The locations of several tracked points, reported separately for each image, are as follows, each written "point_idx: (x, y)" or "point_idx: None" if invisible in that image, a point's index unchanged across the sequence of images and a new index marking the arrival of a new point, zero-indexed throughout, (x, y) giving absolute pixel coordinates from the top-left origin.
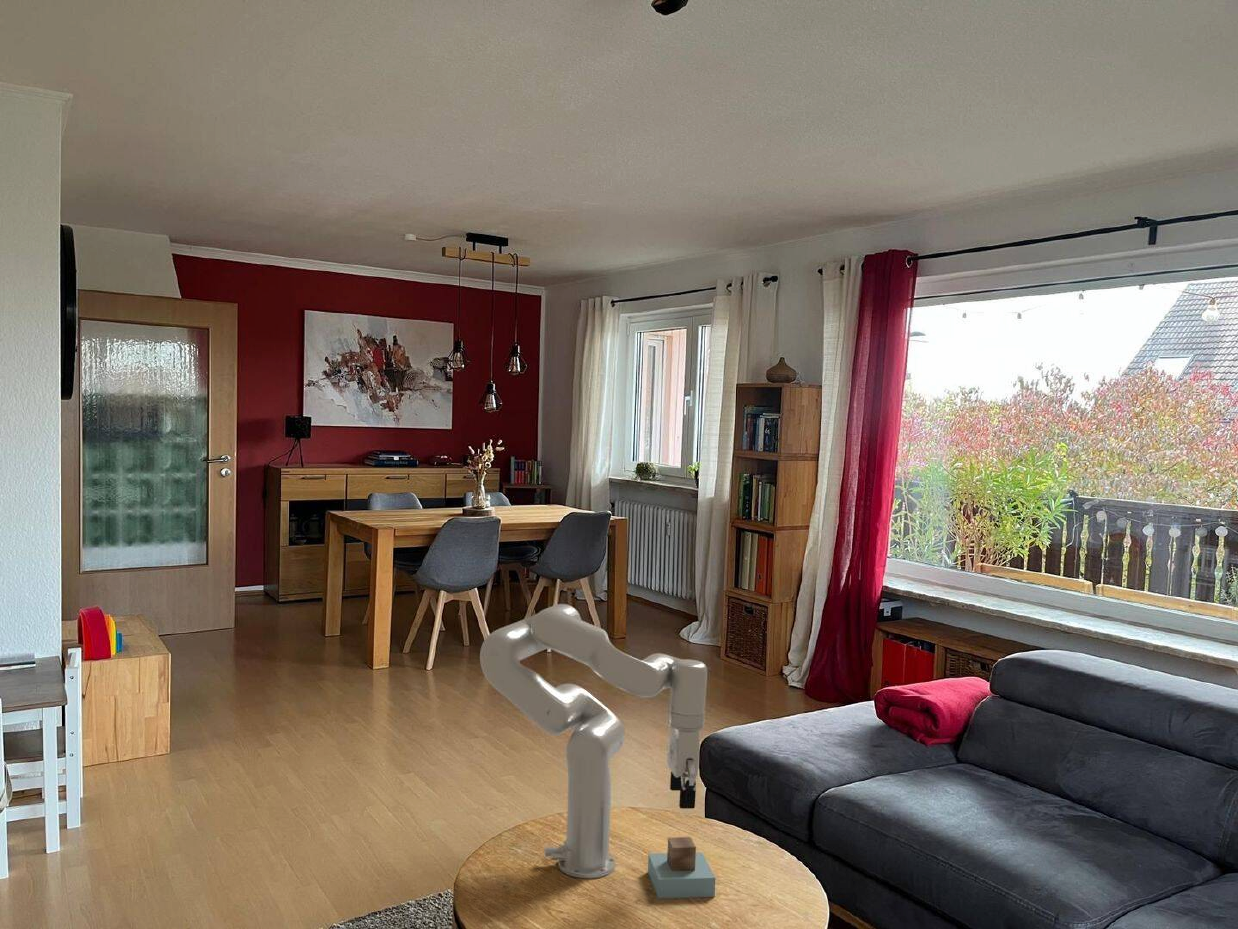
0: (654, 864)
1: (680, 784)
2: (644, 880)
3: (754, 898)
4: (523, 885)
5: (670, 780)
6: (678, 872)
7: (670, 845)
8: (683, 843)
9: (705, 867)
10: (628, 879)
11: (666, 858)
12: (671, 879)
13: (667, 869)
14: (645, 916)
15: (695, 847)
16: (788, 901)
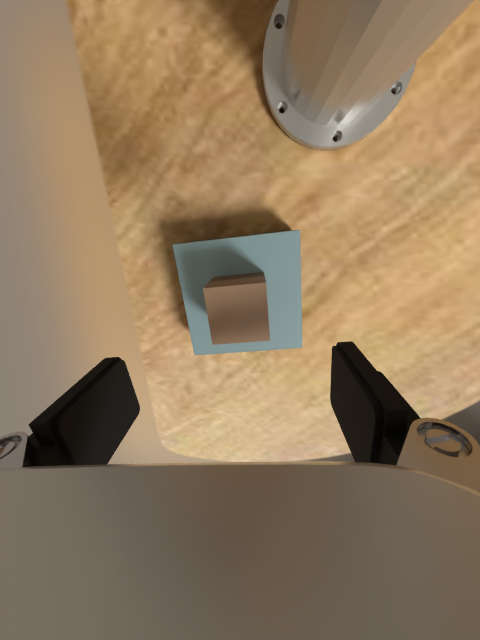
0: (244, 240)
1: (341, 406)
2: (261, 220)
3: (207, 392)
4: None
5: (371, 366)
6: None
7: (231, 284)
8: (231, 318)
9: (235, 344)
10: (265, 184)
11: (274, 271)
12: (178, 272)
13: (221, 268)
14: (121, 213)
15: (212, 343)
16: (203, 429)
